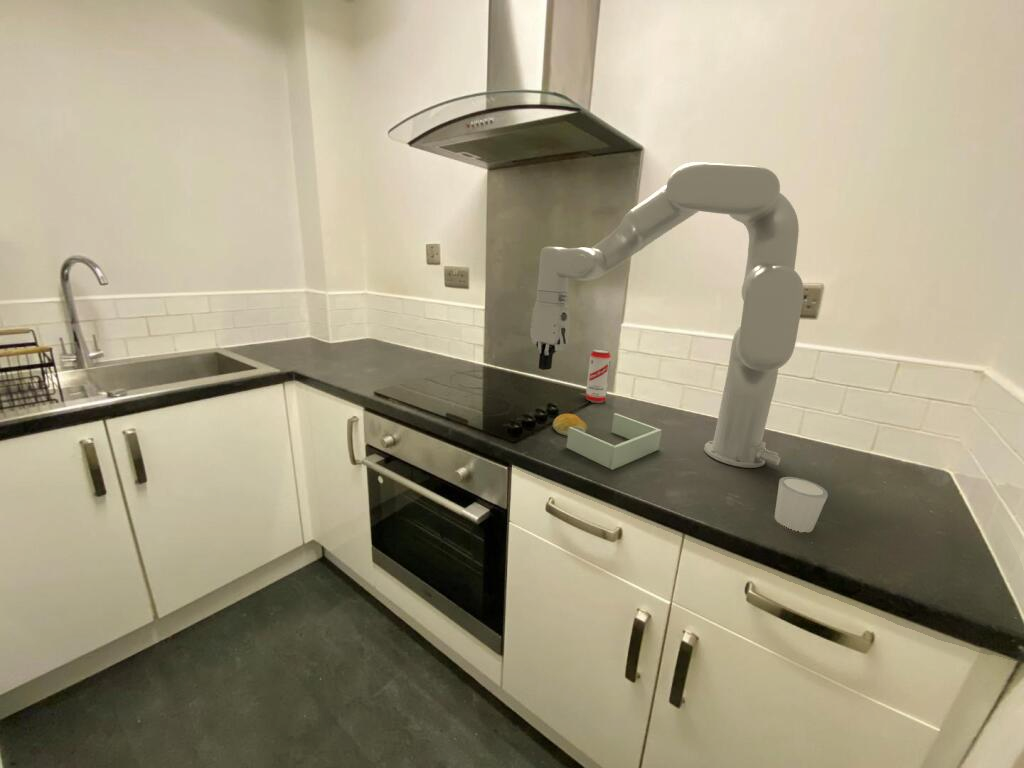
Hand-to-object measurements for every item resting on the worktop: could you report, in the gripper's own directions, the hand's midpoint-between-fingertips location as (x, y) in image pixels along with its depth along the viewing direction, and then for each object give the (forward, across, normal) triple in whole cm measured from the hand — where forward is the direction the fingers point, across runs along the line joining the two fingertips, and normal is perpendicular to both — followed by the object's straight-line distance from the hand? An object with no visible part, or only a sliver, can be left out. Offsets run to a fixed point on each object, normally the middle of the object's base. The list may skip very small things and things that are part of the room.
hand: (544, 368), depth 110 cm
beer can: (+14, +1, -25) cm, 29 cm away
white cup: (+13, -61, -2) cm, 62 cm away
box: (+13, -24, 0) cm, 28 cm away
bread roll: (+14, -11, 0) cm, 18 cm away
